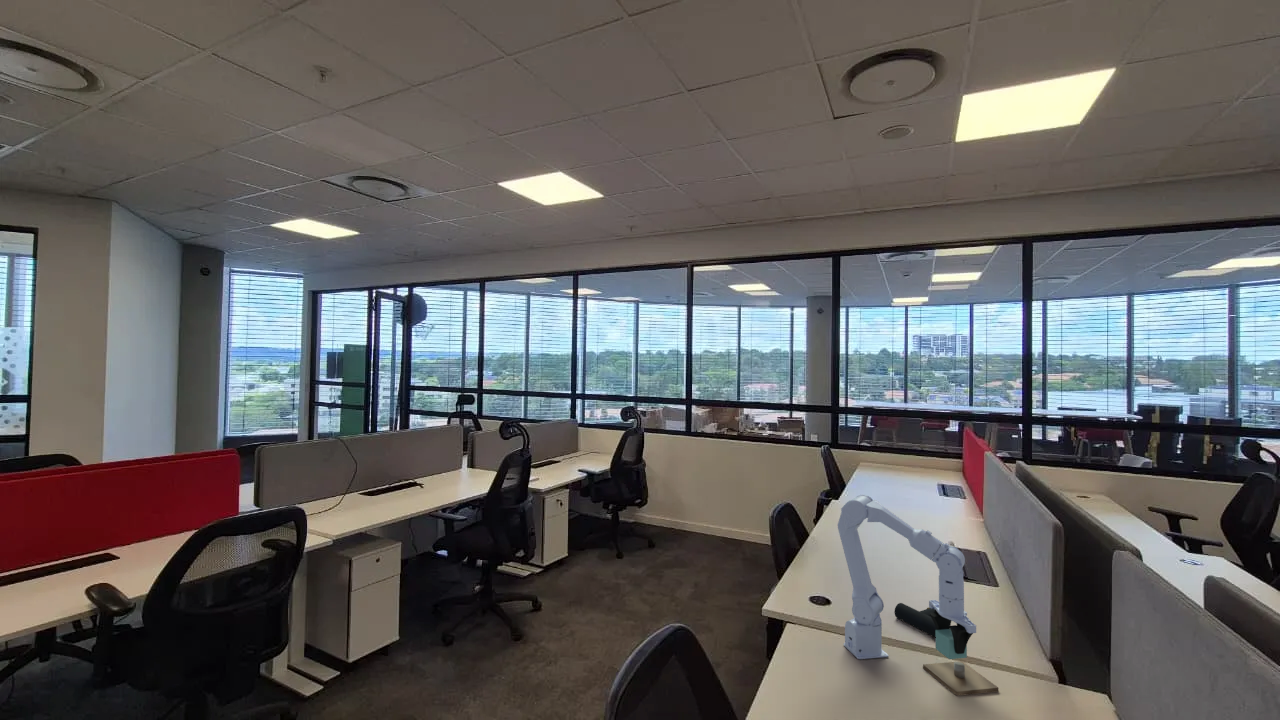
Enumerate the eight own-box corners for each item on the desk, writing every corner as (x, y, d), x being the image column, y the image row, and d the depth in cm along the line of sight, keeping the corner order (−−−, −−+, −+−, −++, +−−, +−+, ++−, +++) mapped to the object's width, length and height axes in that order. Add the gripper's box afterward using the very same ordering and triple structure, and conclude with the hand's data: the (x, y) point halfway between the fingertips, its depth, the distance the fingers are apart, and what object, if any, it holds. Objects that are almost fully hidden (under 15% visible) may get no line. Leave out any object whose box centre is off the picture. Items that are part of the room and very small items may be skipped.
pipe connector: (918, 597, 173) (961, 616, 160) (918, 612, 173) (962, 633, 160) (894, 604, 169) (937, 624, 155) (894, 620, 169) (937, 642, 155)
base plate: (956, 695, 129) (956, 679, 129) (923, 668, 141) (922, 653, 141) (998, 691, 131) (998, 675, 131) (962, 664, 142) (962, 650, 142)
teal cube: (949, 659, 133) (949, 639, 133) (935, 648, 138) (935, 630, 138) (966, 657, 133) (966, 638, 133) (952, 647, 138) (952, 628, 138)
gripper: (986, 606, 129) (987, 661, 129) (944, 583, 144) (945, 632, 143) (961, 608, 128) (962, 663, 128) (921, 584, 143) (922, 634, 142)
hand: (951, 647), depth 136 cm, fingers closed on teal cube, 5 cm apart
